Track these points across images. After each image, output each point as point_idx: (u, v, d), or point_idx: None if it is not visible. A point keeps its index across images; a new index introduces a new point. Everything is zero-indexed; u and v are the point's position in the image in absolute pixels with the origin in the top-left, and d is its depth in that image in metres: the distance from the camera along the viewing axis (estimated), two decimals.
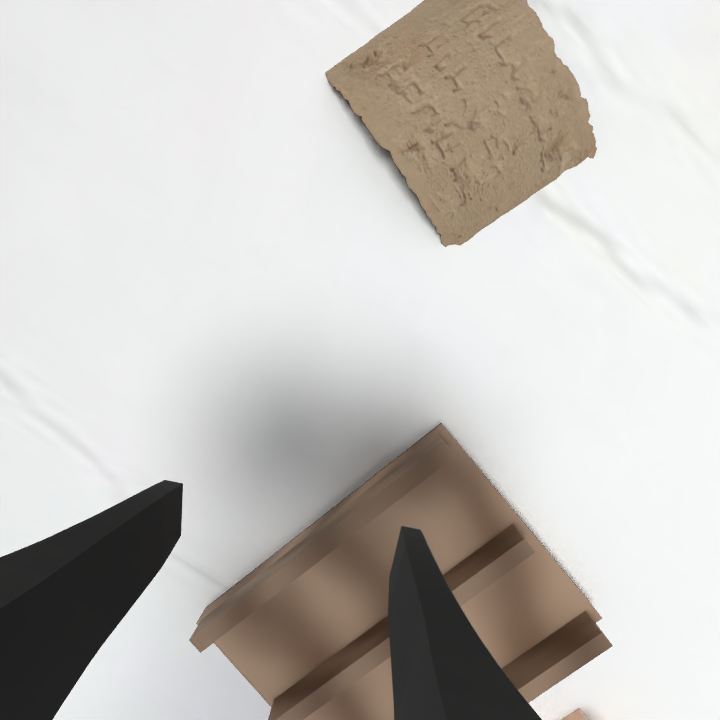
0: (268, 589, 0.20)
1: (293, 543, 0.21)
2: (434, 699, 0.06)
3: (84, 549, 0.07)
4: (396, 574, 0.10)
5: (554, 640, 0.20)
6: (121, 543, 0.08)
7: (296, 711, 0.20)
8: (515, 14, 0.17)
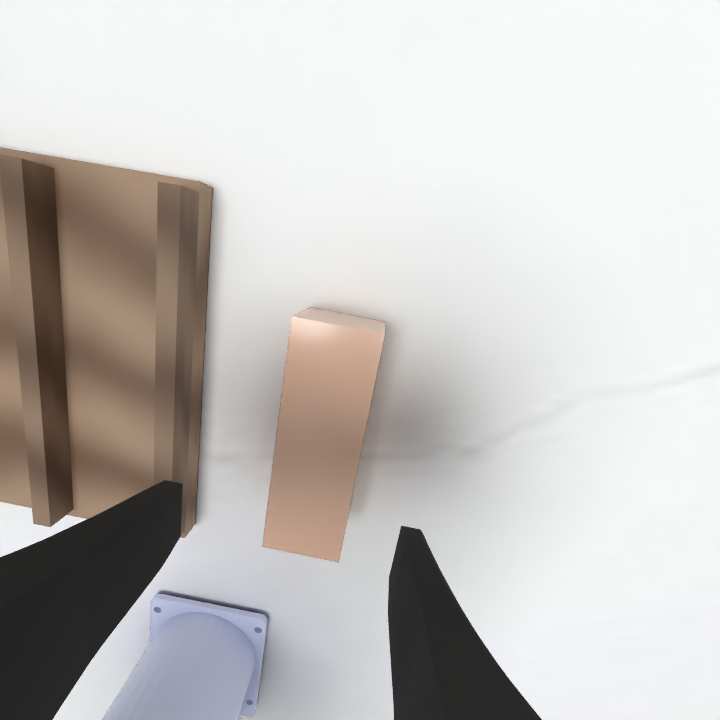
0: None
1: None
2: (434, 700, 0.06)
3: (84, 549, 0.07)
4: (396, 574, 0.10)
5: None
6: (121, 543, 0.08)
7: (36, 494, 0.19)
8: None
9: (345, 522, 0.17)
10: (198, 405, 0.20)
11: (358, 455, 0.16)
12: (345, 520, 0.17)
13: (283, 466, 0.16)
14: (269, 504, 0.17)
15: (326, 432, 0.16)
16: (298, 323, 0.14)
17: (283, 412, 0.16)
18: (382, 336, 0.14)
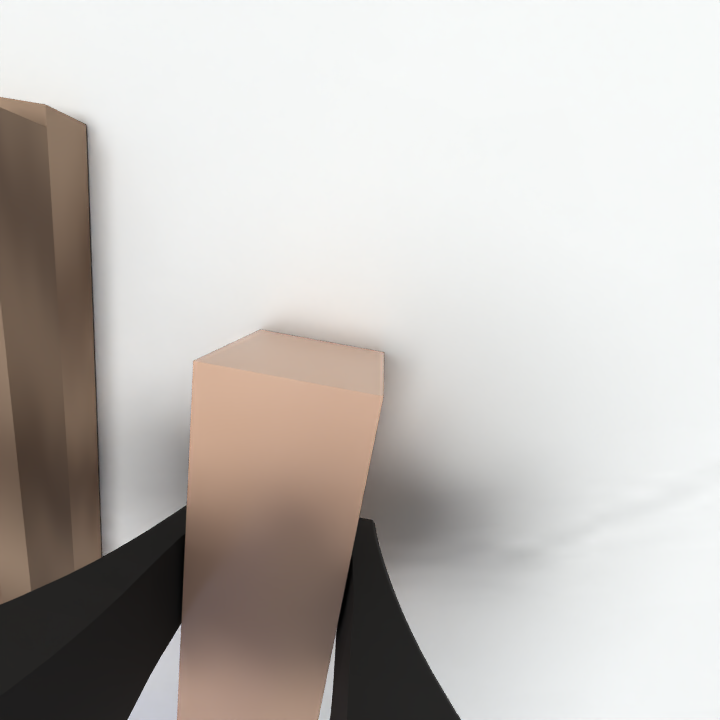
0: None
1: None
2: (346, 682, 0.06)
3: (151, 562, 0.07)
4: None
5: None
6: (180, 555, 0.08)
7: None
8: None
9: (316, 715, 0.09)
10: (90, 481, 0.12)
11: (336, 612, 0.09)
12: (316, 711, 0.09)
13: (200, 625, 0.09)
14: (181, 683, 0.10)
15: (275, 571, 0.08)
16: (207, 374, 0.07)
17: (192, 537, 0.08)
18: (378, 400, 0.07)
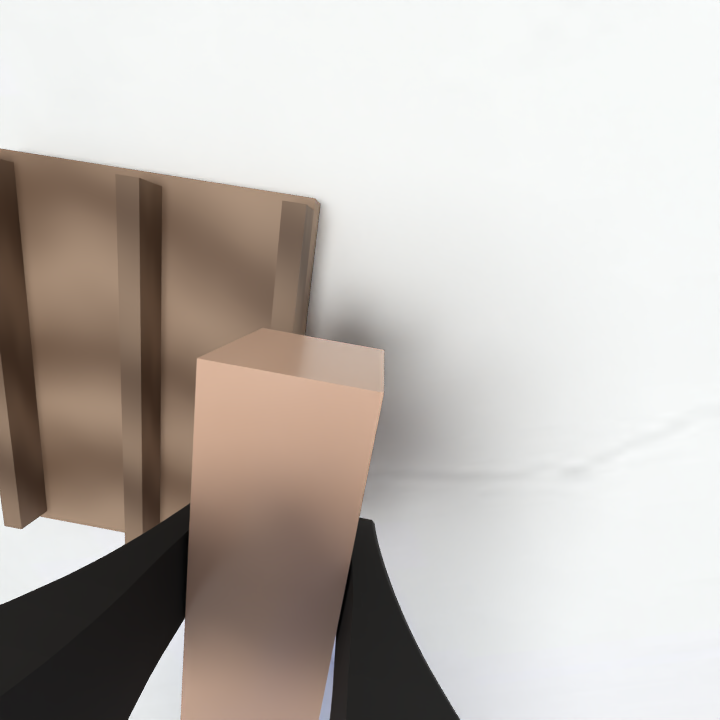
0: (1, 434, 0.18)
1: None
2: (345, 682, 0.06)
3: (152, 562, 0.07)
4: None
5: None
6: (180, 555, 0.08)
7: (130, 519, 0.18)
8: None
9: (318, 708, 0.10)
10: None
11: (337, 606, 0.09)
12: (318, 705, 0.10)
13: (203, 619, 0.09)
14: (185, 677, 0.10)
15: (277, 566, 0.08)
16: (211, 372, 0.07)
17: (195, 532, 0.08)
18: (379, 397, 0.07)
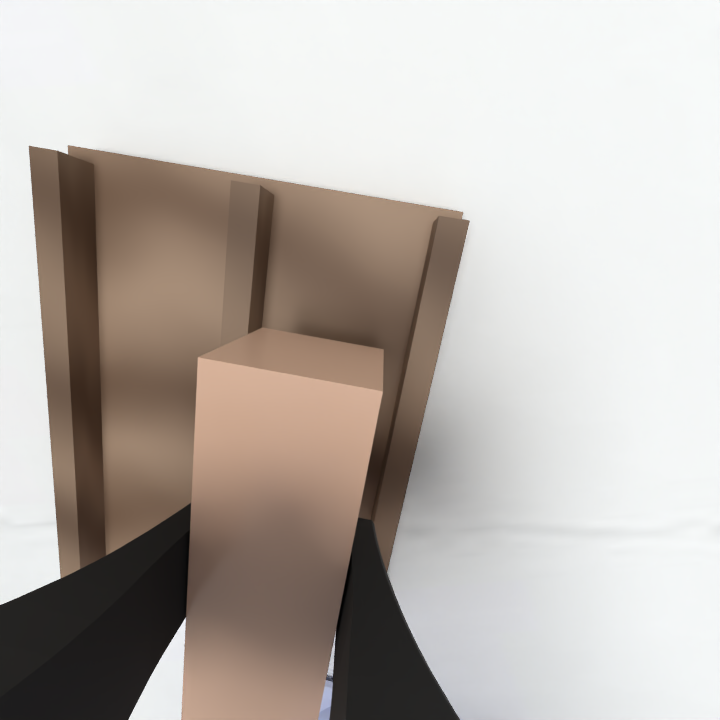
0: (65, 483, 0.15)
1: None
2: (345, 682, 0.06)
3: (152, 563, 0.07)
4: None
5: (419, 291, 0.13)
6: (180, 555, 0.08)
7: None
8: None
9: (318, 705, 0.10)
10: None
11: (337, 603, 0.09)
12: (318, 701, 0.10)
13: (204, 616, 0.09)
14: (186, 673, 0.10)
15: (277, 564, 0.09)
16: (211, 371, 0.07)
17: (196, 530, 0.08)
18: (378, 395, 0.07)
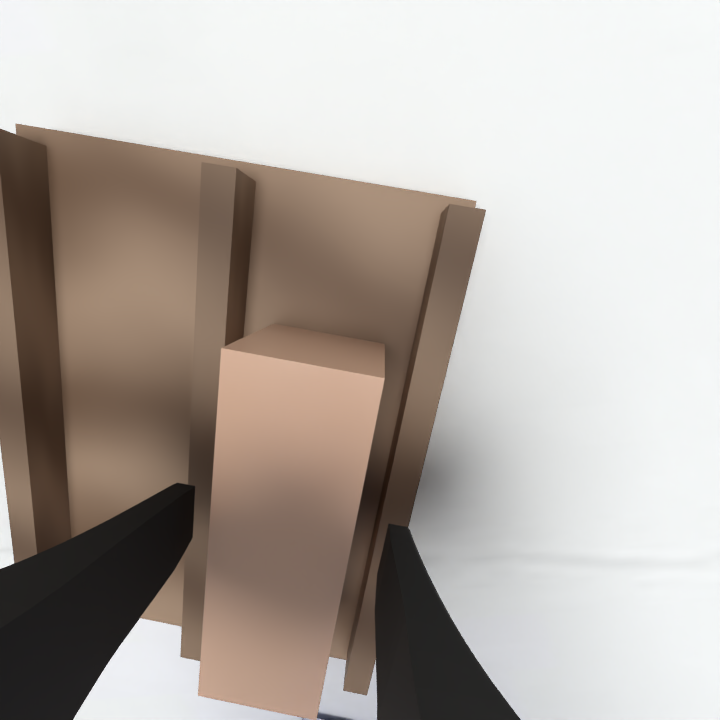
0: (21, 512, 0.13)
1: None
2: (410, 696, 0.06)
3: (102, 553, 0.07)
4: (382, 571, 0.10)
5: (425, 293, 0.11)
6: (137, 546, 0.08)
7: (190, 621, 0.14)
8: None
9: (324, 666, 0.11)
10: None
11: (342, 571, 0.10)
12: (324, 663, 0.11)
13: (222, 584, 0.10)
14: (204, 638, 0.11)
15: (289, 535, 0.09)
16: (233, 360, 0.08)
17: (216, 504, 0.09)
18: (380, 382, 0.08)
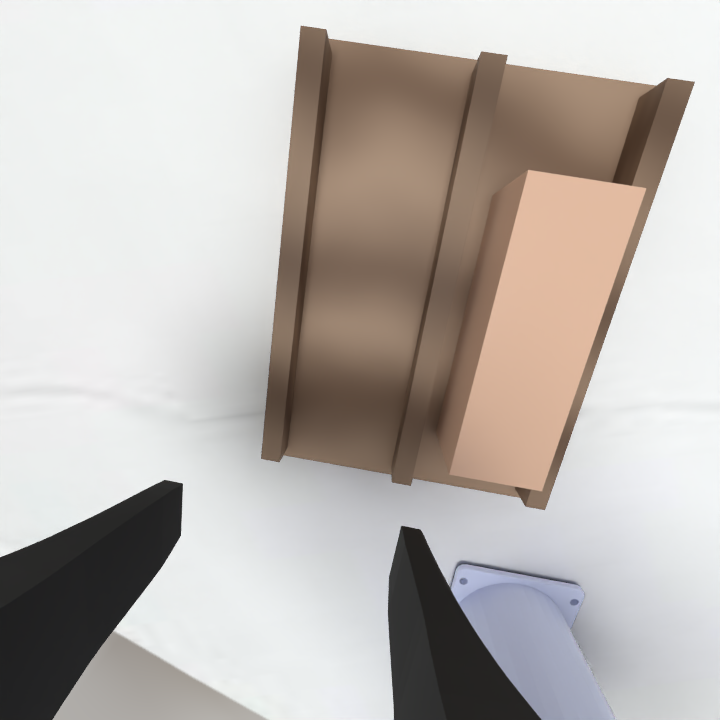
0: (281, 354, 0.17)
1: None
2: (434, 700, 0.06)
3: (84, 549, 0.07)
4: (396, 574, 0.10)
5: (624, 161, 0.14)
6: (121, 543, 0.08)
7: (406, 448, 0.17)
8: None
9: (557, 440, 0.14)
10: None
11: (587, 352, 0.13)
12: (557, 437, 0.14)
13: (489, 370, 0.14)
14: (465, 420, 0.14)
15: (550, 323, 0.13)
16: (535, 179, 0.12)
17: (499, 300, 0.13)
18: (642, 191, 0.12)
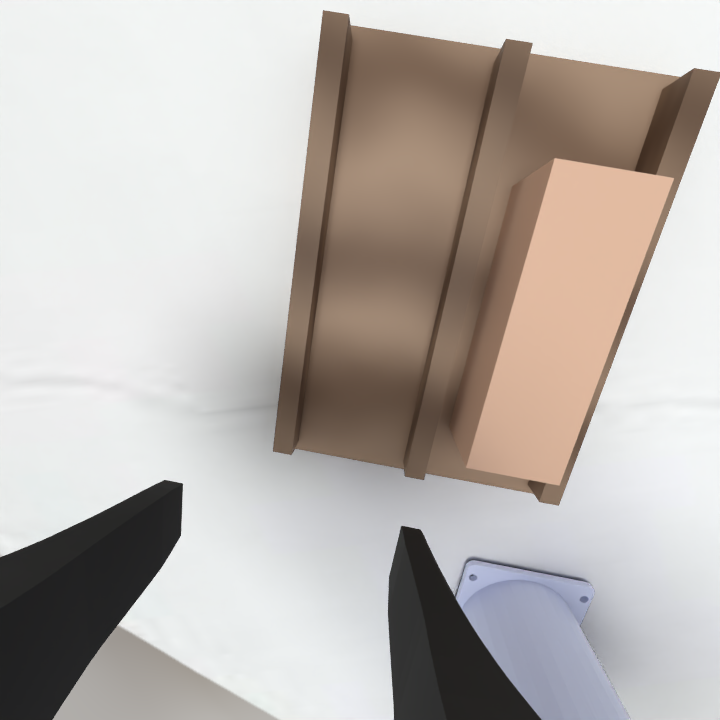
0: (295, 346, 0.16)
1: None
2: (434, 700, 0.06)
3: (84, 549, 0.07)
4: (396, 574, 0.10)
5: (646, 153, 0.14)
6: (121, 543, 0.08)
7: (419, 442, 0.17)
8: None
9: (577, 433, 0.14)
10: None
11: (609, 345, 0.13)
12: (577, 431, 0.14)
13: (509, 362, 0.13)
14: (484, 412, 0.14)
15: (573, 315, 0.13)
16: (562, 167, 0.12)
17: (521, 291, 0.13)
18: (669, 181, 0.11)
